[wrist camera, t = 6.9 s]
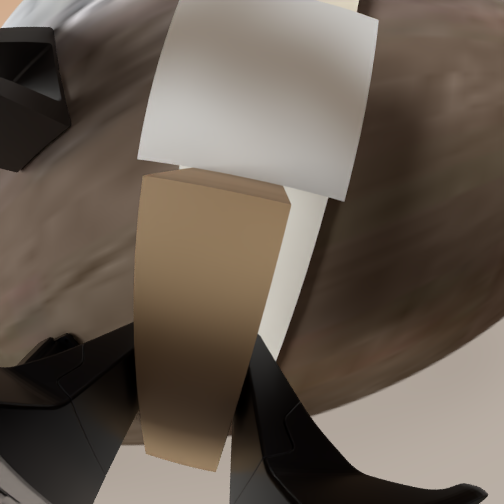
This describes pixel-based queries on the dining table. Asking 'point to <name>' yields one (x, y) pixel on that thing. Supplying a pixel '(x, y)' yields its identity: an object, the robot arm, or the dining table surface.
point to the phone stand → (29, 95)
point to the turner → (232, 194)
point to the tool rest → (290, 265)
